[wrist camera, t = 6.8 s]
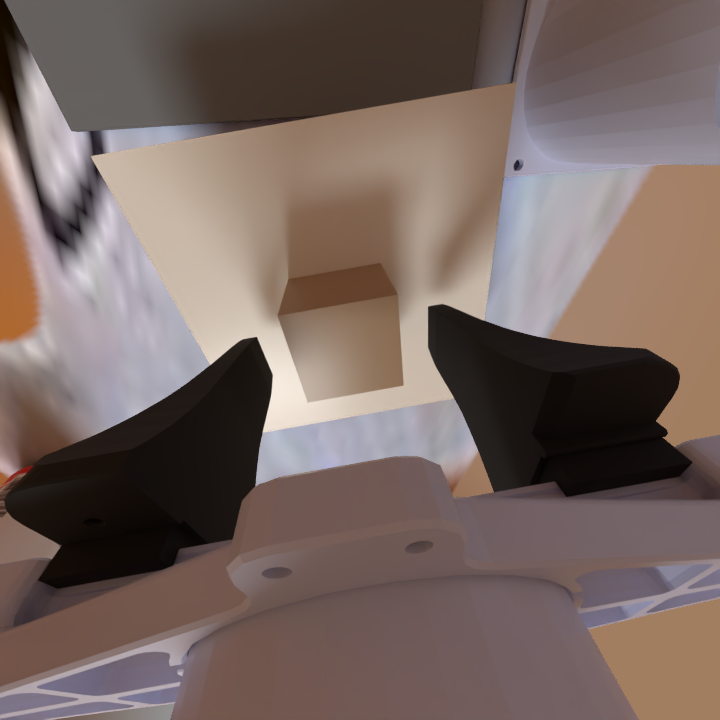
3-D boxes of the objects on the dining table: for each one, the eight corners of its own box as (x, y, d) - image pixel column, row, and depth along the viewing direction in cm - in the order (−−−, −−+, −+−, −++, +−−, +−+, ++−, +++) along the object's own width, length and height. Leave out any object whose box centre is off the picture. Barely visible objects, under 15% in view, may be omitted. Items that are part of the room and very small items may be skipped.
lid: (501, 88, 10) (604, 46, 6) (467, 384, 18) (503, 440, 14) (109, 156, 10) (-16, 154, 6) (253, 422, 18) (236, 488, 14)
